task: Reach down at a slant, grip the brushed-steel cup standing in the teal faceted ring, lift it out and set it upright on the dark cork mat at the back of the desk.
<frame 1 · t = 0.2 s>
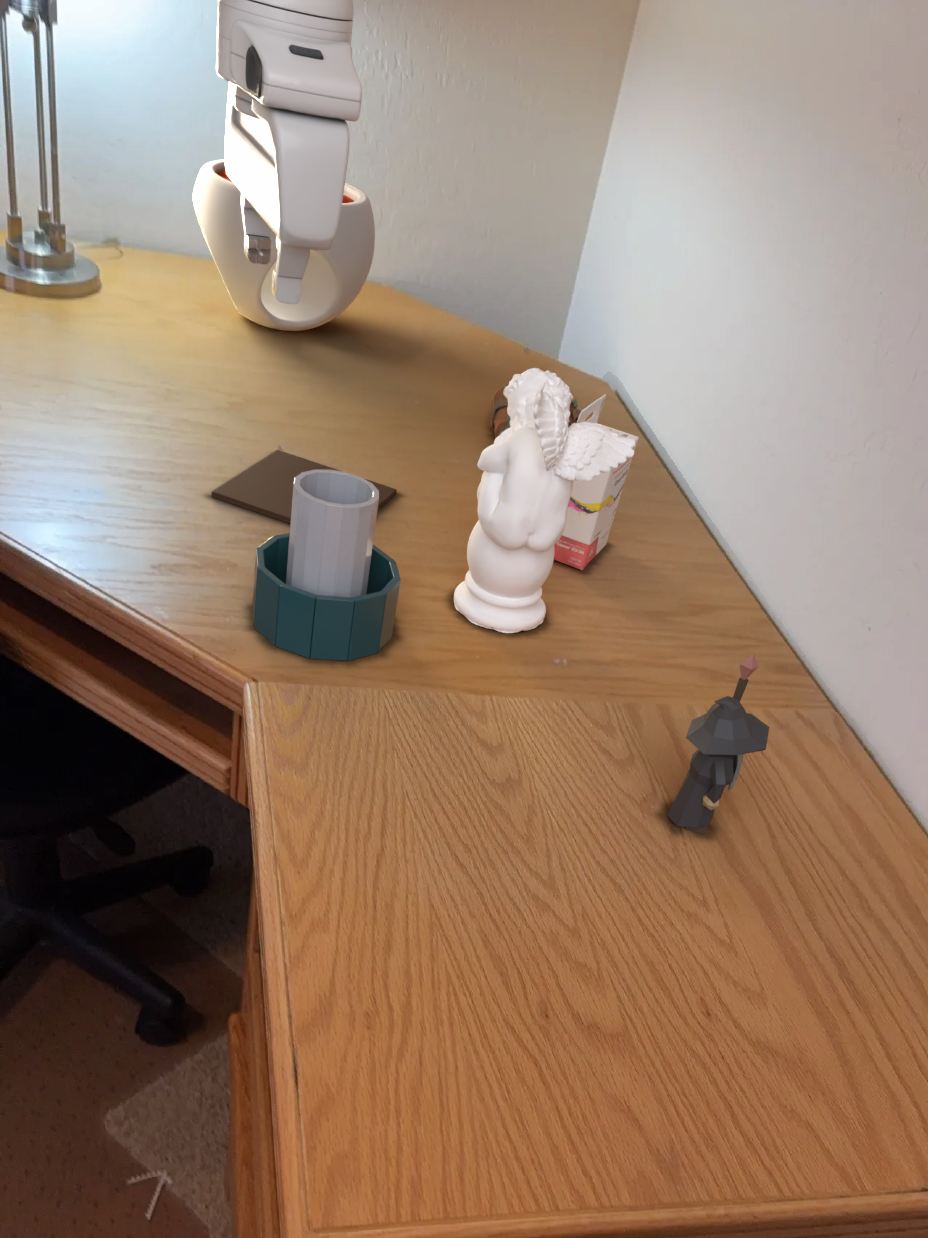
hand: (270, 280, 81), 23 cm above the table, tool pointing down, fingers open, 8 cm apart
wizard figurine: (685, 813, 80), on the table
pot: (278, 321, 148), on the table
decorative book: (541, 450, 131), on the table
ink cartridge box: (574, 551, 111), on the table
mat: (307, 495, 108), on the table
cup: (329, 558, 86), in the teal faceted ring
teal faceted ring: (322, 623, 90), on the table
cherub figurine: (516, 619, 98), on the table
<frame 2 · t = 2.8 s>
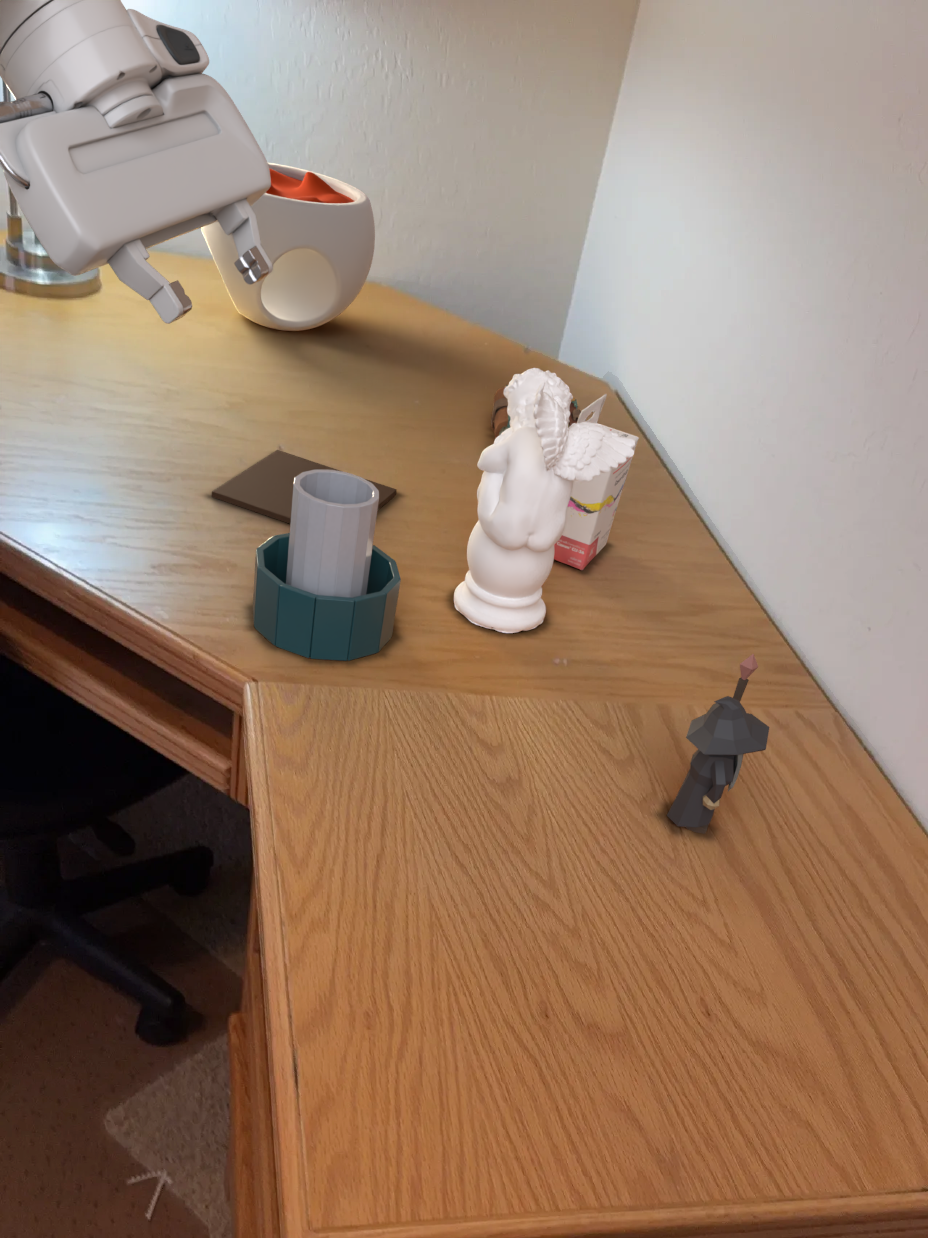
hand: (223, 296, 72), 24 cm above the table, tool tilted 45°, fingers open, 8 cm apart
nothing on the table moved.
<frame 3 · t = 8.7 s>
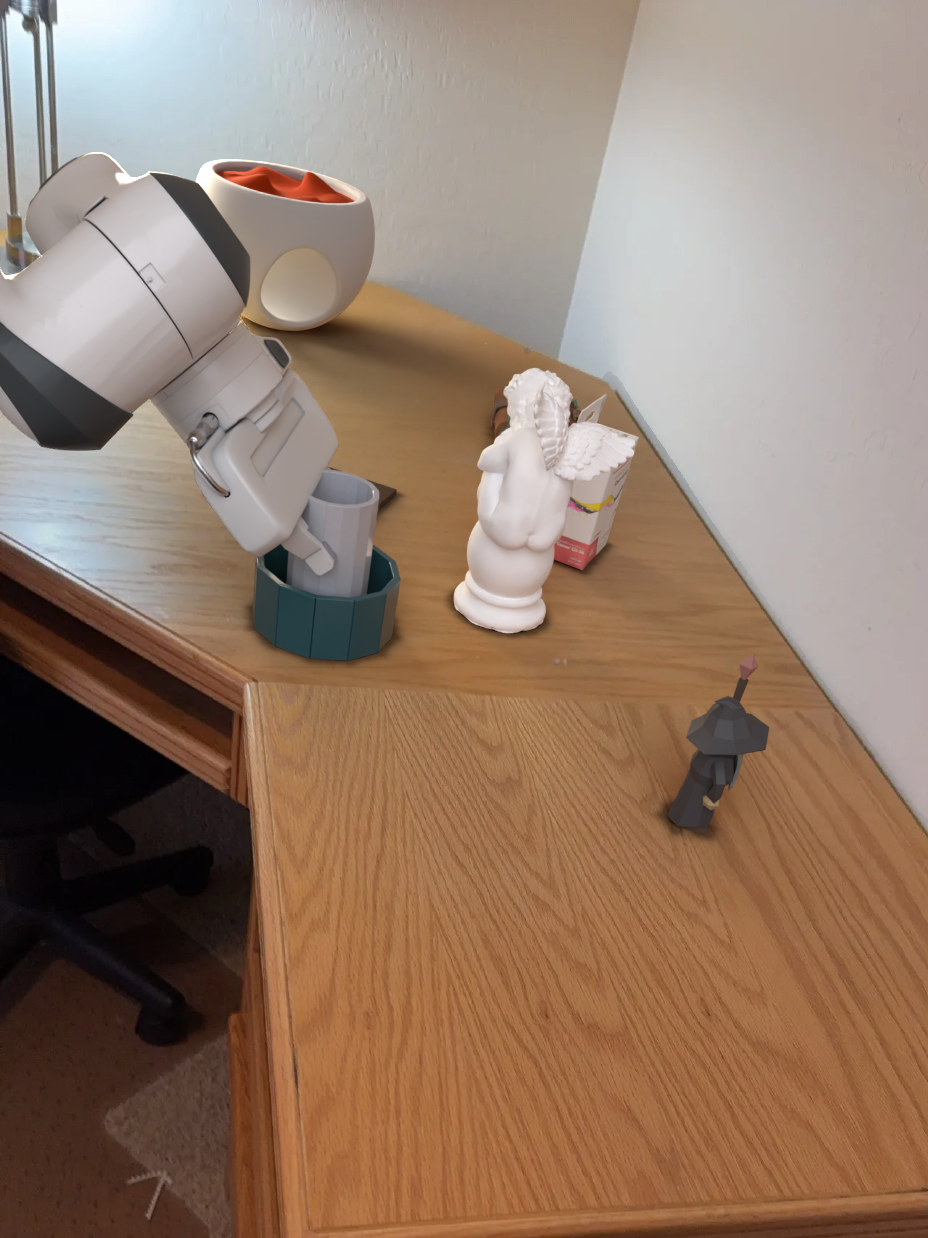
hand: (338, 546, 85), 7 cm above the table, tool tilted 45°, fingers closed on cup, 7 cm apart
cup: (329, 558, 86), in the teal faceted ring, touching gripper
everything else where it was.
when the fingers open (8 cm above the table, at t = 20.7 s): cup stays where it is, resting on mat.
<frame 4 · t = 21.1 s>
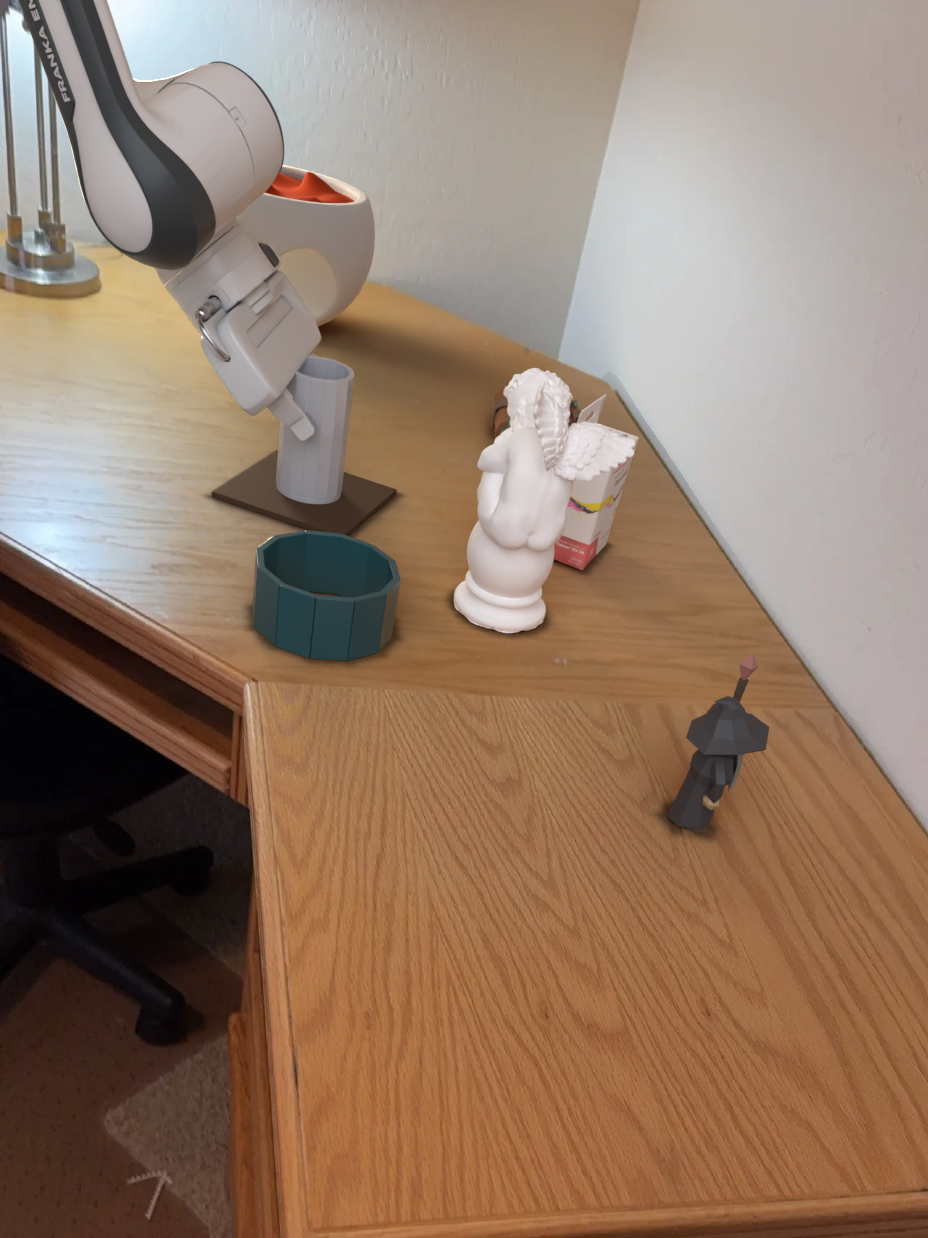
hand: (320, 418, 103), 8 cm above the table, tool tilted 45°, fingers open, 8 cm apart
cup: (313, 431, 104), on the mat, point 7 cm above the table
everything else where it was.
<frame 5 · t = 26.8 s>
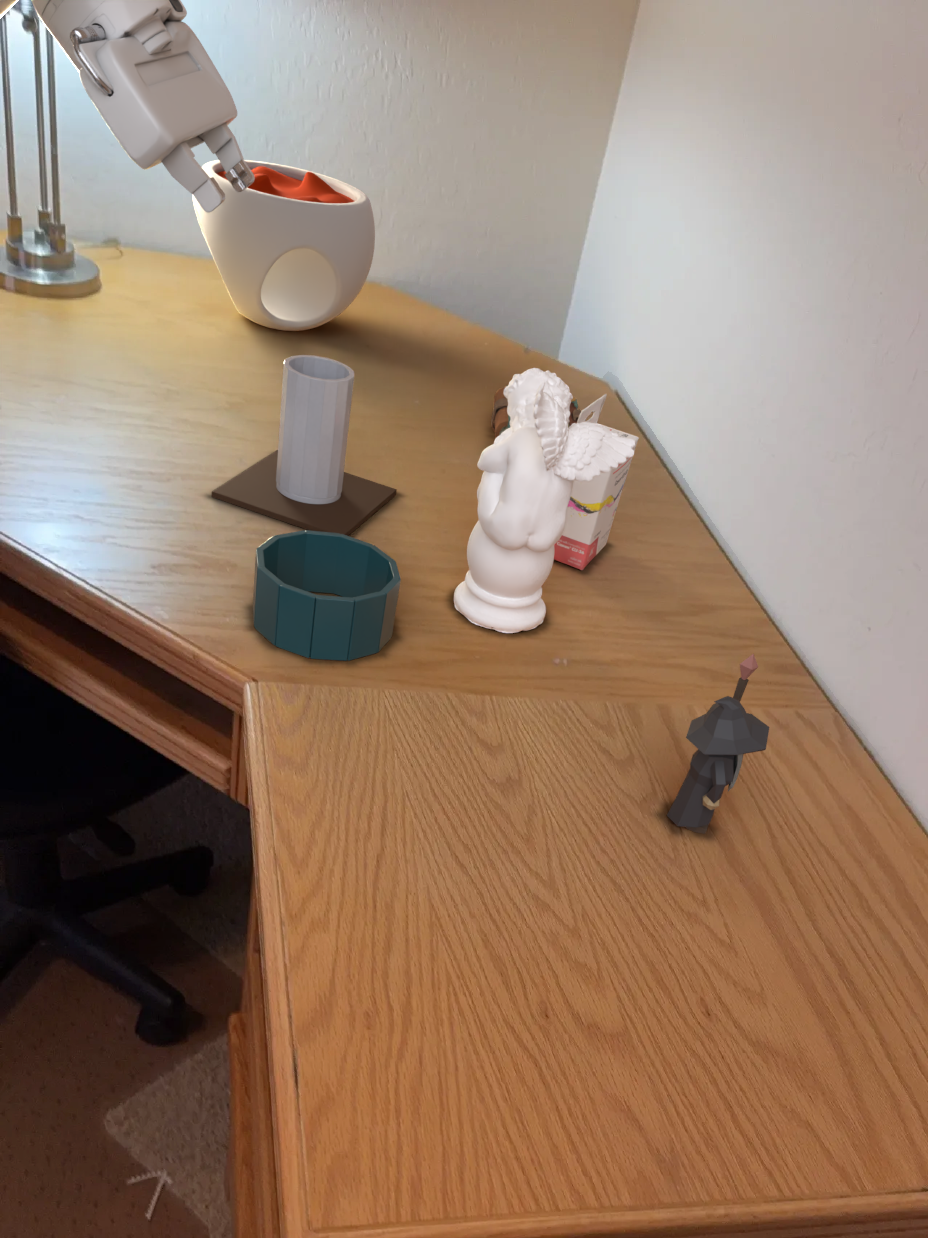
hand: (233, 196, 89), 25 cm above the table, tool tilted 45°, fingers open, 8 cm apart
nothing on the table moved.
at the end: cup inside the target area on the mat (0.1 cm from its centre), point 6.6 cm above the mat's base; cup tilted 0°; the gripper is holding nothing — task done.
